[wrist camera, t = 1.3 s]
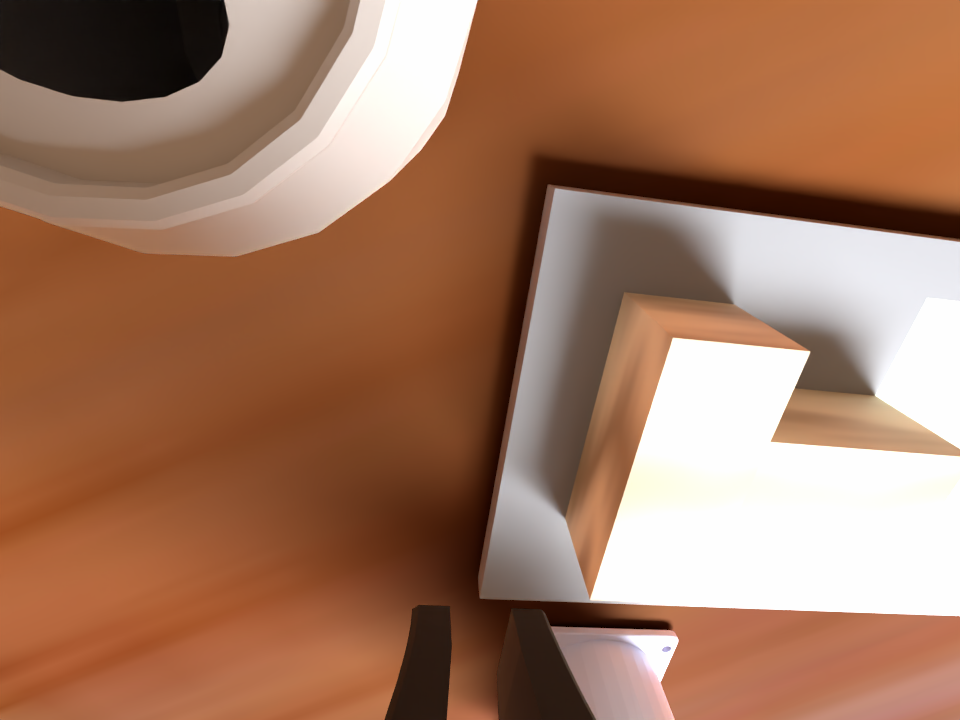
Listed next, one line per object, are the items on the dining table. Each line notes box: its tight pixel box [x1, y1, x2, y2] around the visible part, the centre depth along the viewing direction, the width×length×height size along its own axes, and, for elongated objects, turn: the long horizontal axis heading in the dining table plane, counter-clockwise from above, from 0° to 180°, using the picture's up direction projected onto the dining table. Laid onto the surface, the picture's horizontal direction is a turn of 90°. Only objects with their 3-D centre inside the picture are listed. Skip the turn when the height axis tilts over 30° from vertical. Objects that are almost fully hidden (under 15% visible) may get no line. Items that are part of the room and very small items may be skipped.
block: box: [565, 292, 960, 604], centre depth 18 cm, size 10×11×4 cm
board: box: [478, 184, 960, 616], centre depth 21 cm, size 18×28×1 cm, turn 83°
